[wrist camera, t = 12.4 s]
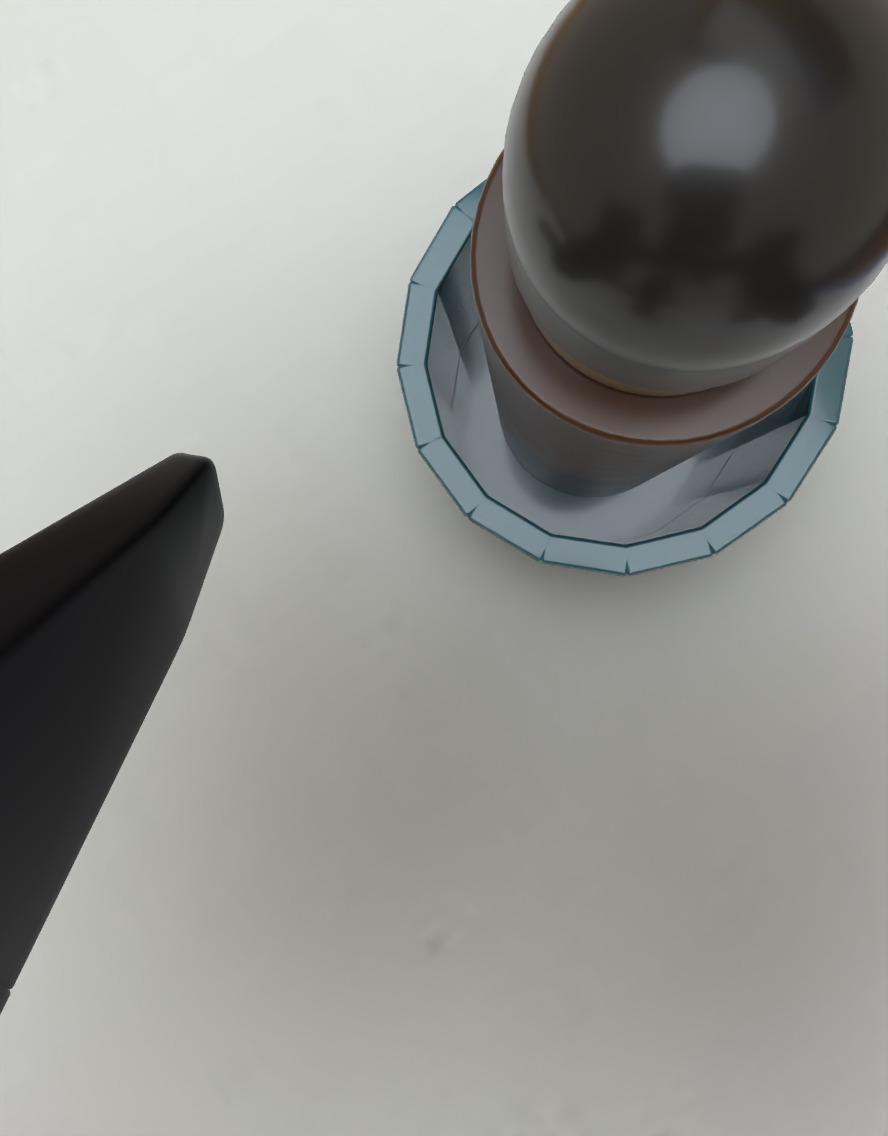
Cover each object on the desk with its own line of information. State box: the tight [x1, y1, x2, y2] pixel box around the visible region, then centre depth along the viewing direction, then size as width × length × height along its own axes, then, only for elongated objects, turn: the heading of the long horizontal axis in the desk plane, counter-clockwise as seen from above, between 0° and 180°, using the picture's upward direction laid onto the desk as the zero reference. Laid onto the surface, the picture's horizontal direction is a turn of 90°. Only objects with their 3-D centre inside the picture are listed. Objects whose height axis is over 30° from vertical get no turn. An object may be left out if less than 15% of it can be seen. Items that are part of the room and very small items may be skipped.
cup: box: [397, 179, 853, 576], centre depth 15 cm, size 7×7×5 cm
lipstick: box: [470, 0, 888, 497], centre depth 11 cm, size 4×4×12 cm
